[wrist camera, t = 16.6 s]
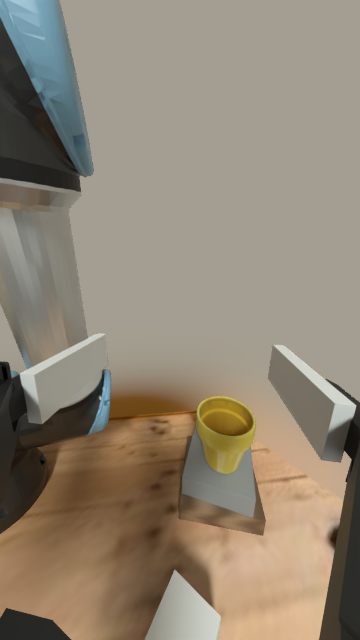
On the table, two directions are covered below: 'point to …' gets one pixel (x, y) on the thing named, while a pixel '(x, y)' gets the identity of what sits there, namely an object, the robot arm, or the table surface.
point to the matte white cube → (184, 615)
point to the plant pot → (224, 432)
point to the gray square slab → (219, 481)
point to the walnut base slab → (221, 511)
